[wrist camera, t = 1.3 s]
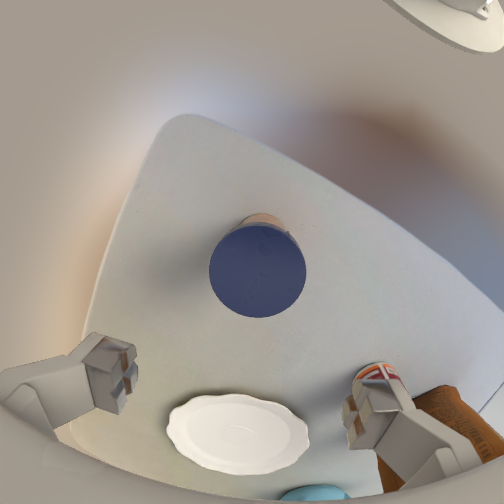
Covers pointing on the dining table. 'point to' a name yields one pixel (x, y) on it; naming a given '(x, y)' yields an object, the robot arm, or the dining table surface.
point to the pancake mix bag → (458, 419)
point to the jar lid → (257, 270)
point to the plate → (237, 434)
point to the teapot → (315, 493)
